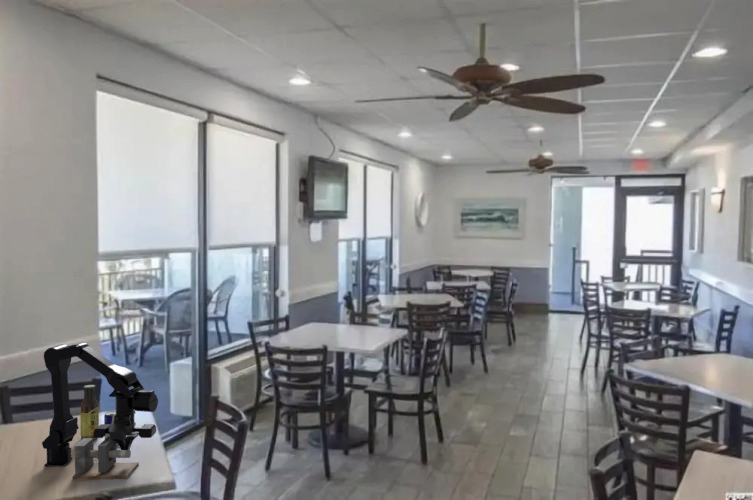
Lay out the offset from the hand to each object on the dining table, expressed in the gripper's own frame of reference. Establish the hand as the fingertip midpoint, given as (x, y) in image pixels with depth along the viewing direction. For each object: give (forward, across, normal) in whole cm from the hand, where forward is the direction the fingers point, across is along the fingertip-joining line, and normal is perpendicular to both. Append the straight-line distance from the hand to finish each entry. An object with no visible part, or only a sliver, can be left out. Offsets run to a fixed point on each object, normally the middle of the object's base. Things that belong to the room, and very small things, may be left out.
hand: (125, 456), depth 209 cm
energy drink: (+4, -12, +21) cm, 24 cm away
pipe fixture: (+4, -5, -3) cm, 7 cm away
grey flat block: (+2, -5, -3) cm, 6 cm away
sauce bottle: (+4, -23, +28) cm, 36 cm away
